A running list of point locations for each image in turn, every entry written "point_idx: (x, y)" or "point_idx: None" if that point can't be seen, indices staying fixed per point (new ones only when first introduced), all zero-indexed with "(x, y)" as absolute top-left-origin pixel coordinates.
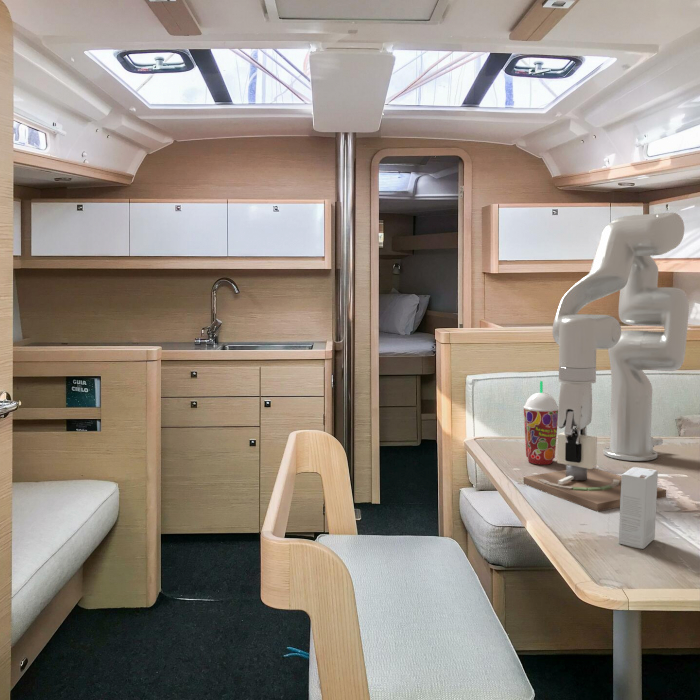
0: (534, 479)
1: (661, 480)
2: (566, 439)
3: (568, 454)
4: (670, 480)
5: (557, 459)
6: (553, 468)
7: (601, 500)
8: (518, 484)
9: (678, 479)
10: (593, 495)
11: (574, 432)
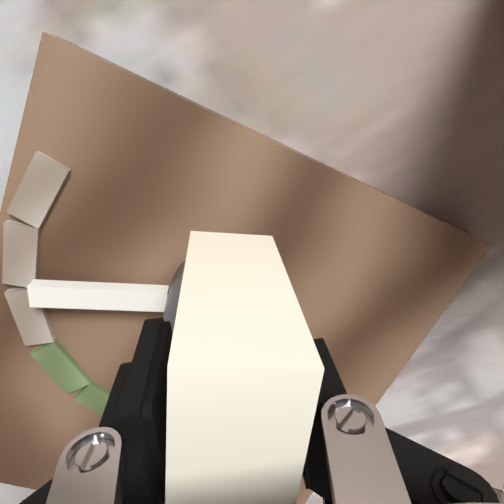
0: (50, 119)
1: (463, 455)
2: (57, 478)
3: (116, 376)
4: (475, 471)
5: (189, 239)
6: (485, 49)
7: None
8: (29, 13)
9: (497, 481)
10: (28, 427)
11: (328, 474)
